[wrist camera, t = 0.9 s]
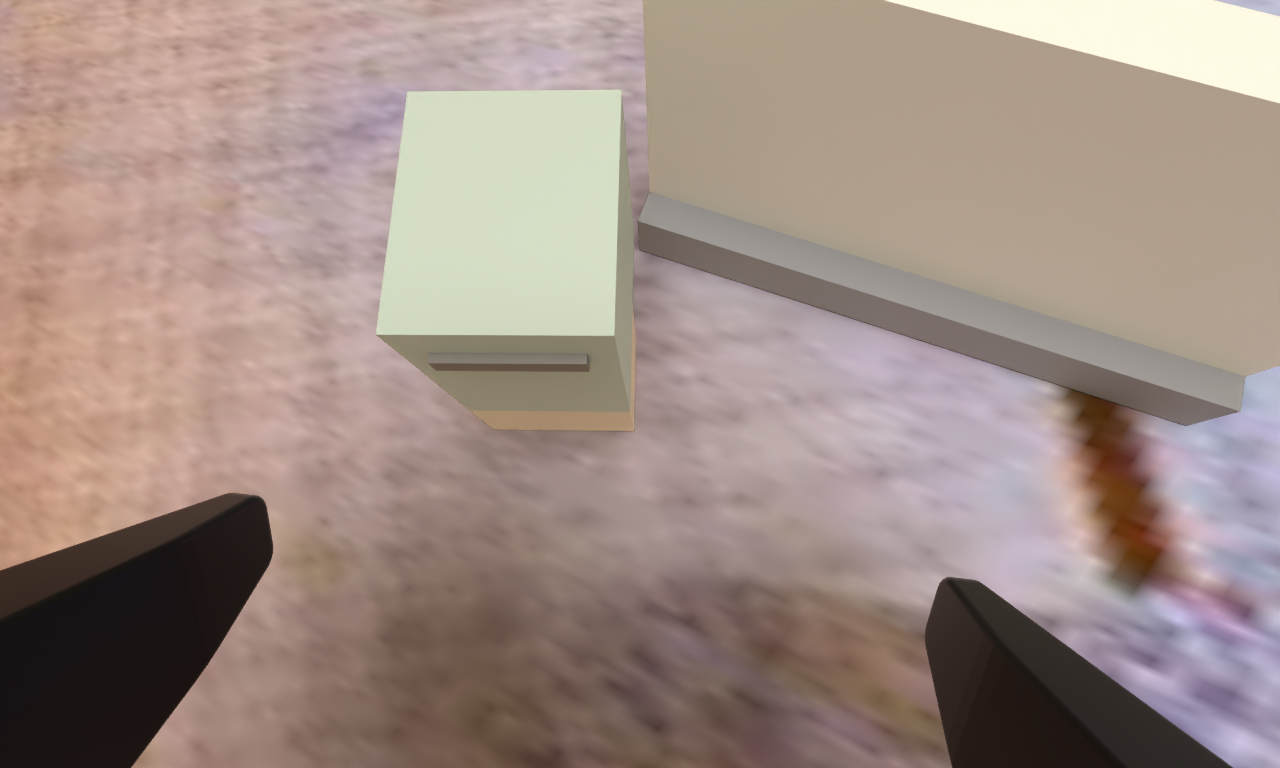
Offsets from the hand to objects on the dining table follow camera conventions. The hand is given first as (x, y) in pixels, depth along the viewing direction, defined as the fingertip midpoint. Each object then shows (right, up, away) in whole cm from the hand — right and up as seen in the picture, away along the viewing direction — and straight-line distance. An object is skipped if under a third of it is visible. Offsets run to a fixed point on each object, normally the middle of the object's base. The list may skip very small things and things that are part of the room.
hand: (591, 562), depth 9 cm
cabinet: (-2, +3, +15) cm, 16 cm away
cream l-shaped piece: (+12, +9, +16) cm, 22 cm away
